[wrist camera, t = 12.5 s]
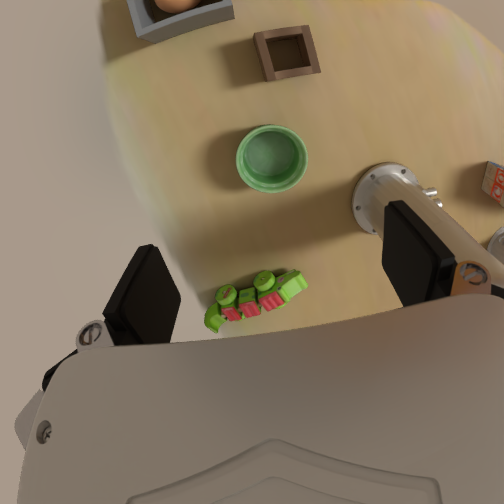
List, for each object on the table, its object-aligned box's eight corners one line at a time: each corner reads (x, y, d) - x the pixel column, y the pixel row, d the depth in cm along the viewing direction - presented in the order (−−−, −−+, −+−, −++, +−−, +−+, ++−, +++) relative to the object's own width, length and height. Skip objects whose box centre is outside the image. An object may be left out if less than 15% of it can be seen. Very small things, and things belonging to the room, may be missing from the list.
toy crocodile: (296, 256, 47) (302, 280, 42) (309, 282, 50) (315, 306, 45) (197, 295, 51) (193, 319, 46) (215, 316, 55) (213, 340, 50)
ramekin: (313, 159, 37) (321, 169, 33) (261, 193, 40) (263, 206, 36) (277, 107, 33) (281, 111, 29) (223, 145, 36) (220, 153, 32)
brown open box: (301, 30, 26) (308, 24, 23) (313, 73, 30) (321, 72, 27) (253, 38, 27) (254, 33, 24) (265, 81, 31) (267, 81, 27)
